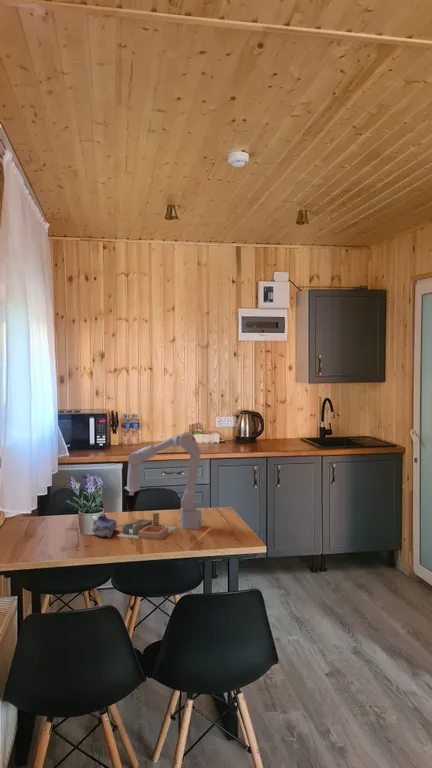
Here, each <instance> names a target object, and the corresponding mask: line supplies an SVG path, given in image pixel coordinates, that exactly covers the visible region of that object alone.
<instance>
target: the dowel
mask: <svg viewBox="0 0 432 768" xmlns="http://www.w3.org/2000/svg"><path fill="white" fill-rule="evenodd" d="M152 524H153V526H159V524H160V513H157V512H155V513H152Z"/></svg>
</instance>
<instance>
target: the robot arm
mask: <svg viewBox="0 0 432 768" xmlns="http://www.w3.org/2000/svg"><path fill="white" fill-rule="evenodd" d="M179 446H180V447H181V448H182V449H184V450H185V451H186V452H187V453H188V454H189V455H190V456H189V463H188V469H187V475H186V482H185V488H184V492H183V495H182V497H181V501H180V528H181V529H183V530H199V529H200V528H201V527H202V524H203V523H202V520H203V519H202V518H203V517H202V511H201V509H197V507H196V506H195V503H196V495H195V493H196V492H195V491H196V483H197V480H198V479H197V478H198V472H199V467H200V466H199V465H200V461H201V460H200V458H201V453H202V451H201V448H200V447H199V444H198V442H197V440H196V437H194V435H192V434H191V433H190V432H187V431H186V432H183V433H182V434H181V433H180V434H177V435H173V436H171V437H169V438H167V439H166V440H164V441H162V442H160V443H158V444H155V445H152V444H146V445H145V446H144V447H143V448H141V449H136V450H135V451H134V452H132V453H130V454H129V455H128V456H127V462H128V464H127V465H128V466H127V467H128V468H127V478H126V479H127V481H126V482H127V483H126V486H124V488H123V489H124V490H126V491H127V493H125V498H126V500H127V507H128V510H134V509H135V506H136V503H137V499H138V496H139V494H140V491H141V490H140V489H141V488H140V485H141V484H140V482H141V462H145V461H148V460H150V459H151V458H154V457H156V456H157V453H159V452H160V451H163V450H166V449H168V448H169V447H179Z"/></svg>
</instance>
